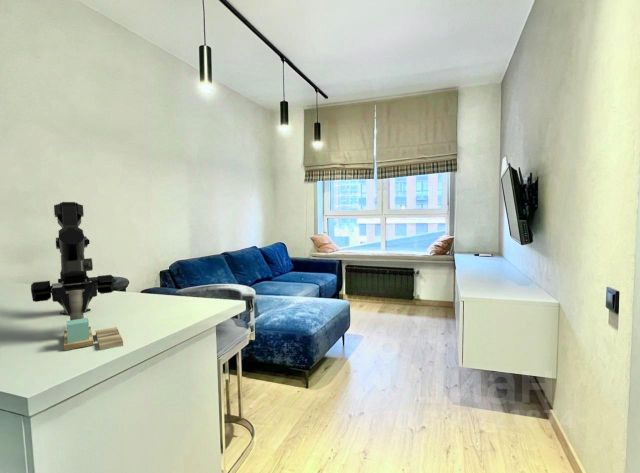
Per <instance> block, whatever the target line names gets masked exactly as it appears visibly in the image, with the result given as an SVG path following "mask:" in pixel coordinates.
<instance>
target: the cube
mask: <svg viewBox="0 0 640 473" xmlns="http://www.w3.org/2000/svg"><path fill="white" fill-rule="evenodd" d="M65 326H66V331H67V341H68V343H73V342H78V341H84V340H89V327H90V324H89V318H88V317H84V318H83V319H76V320H70V319H69V320H66V325H65Z"/></svg>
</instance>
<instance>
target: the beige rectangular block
mask: <svg viewBox="0 0 640 473" xmlns="http://www.w3.org/2000/svg"><path fill="white" fill-rule="evenodd" d="M95 336H96V340H97V344H98V349H99V350H100V351H101V350H102V351H103V350H107V349H112V348H117V347H121V346H124V340H123V337H122V336H121V334H120V331H119V328H118V327H117V326H115V327H114V326H113V327H109V328H103V329H97V330H95Z"/></svg>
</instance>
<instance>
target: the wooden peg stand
mask: <svg viewBox="0 0 640 473" xmlns="http://www.w3.org/2000/svg"><path fill="white" fill-rule="evenodd" d="M69 308H70V315H69V321H70V320H76V319H83V318H85V317H84V315H85V314H84V313H83V298H82V290H72V291H69ZM94 345H95V343H94V337H93V332H92V327H91V326H89V340H84V341H78V342H73V343H68V341H67V330H63V351H68V350H69V351H70V350H73V349H79V348H84V347H89V346H94Z"/></svg>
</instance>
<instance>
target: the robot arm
mask: <svg viewBox="0 0 640 473" xmlns="http://www.w3.org/2000/svg"><path fill="white" fill-rule="evenodd" d="M53 214H54V218H56V220H57V224H58V225H59V226H60V227H61V229H59V230H58V236H57V237H55V247H56V250H59V253H60V265H61V266H60V272H59V274H60V278H57V282H55V283H51V281H50V280H41V281H34V282H32V283H31V284H30V292H31V297H32V302H35V303H38V302H44V301H45V302H48V301H49V300H50V299H52V301H53V303H56V302H57V303H58V304H59V305H60V306H61V307H62V308H63V311H60V312H59V314H61V315H67V316H70V308H69V291H72V290H82V298H83V314H85V313H86V312H88V311H91V309H92V308H88V307H89V305H90V302H91V301H92V300H93V298H95V297H97V296H98V293H99V294H101V295H104V294H110V293H113V292H114V290H115V289H114V287H115V279H114V275H112V274H104V275H97V277H96V278H97V280H96V281H94V280H93V281H92V279H90V277H89V275H88V274H87V273H88V272H91V271H93V265H94V264H93V258H92V257H91V258H89V257H88V258H85V249H86V248H88V245H90V244H91V243H90V239H89V238H87V236H85V235H84V230H83V229H82V228H80V225H81V224H82V218H83V217H84V216H85V214H84V205H83V204H79V203H78V202H75V201H61V202H59V203H58V204H54V205H53Z"/></svg>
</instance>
